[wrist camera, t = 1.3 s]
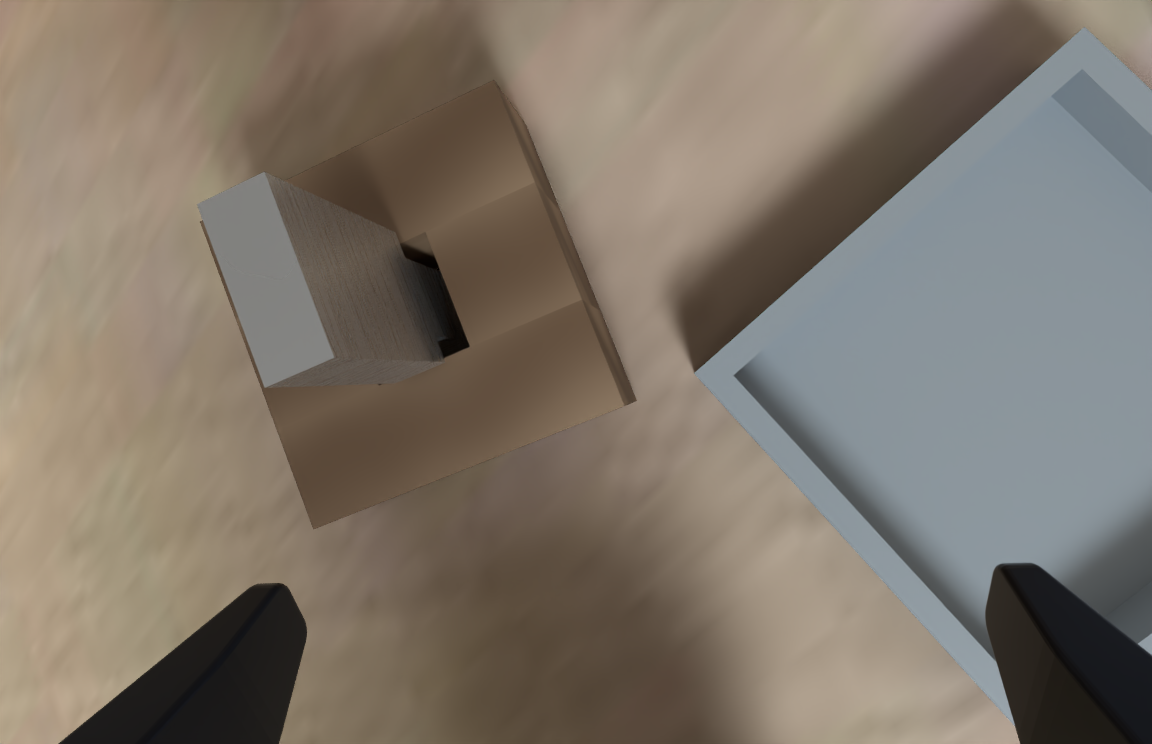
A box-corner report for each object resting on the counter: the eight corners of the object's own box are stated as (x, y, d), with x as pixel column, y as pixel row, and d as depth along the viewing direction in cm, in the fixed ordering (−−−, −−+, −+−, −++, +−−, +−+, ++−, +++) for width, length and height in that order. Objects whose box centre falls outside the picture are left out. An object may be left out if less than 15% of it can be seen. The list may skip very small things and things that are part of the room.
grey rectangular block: (489, 364, 26) (334, 357, 15) (447, 381, 26) (264, 388, 15) (447, 256, 26) (264, 171, 15) (406, 274, 26) (197, 204, 15)
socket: (636, 400, 25) (624, 405, 21) (371, 505, 26) (313, 529, 22) (526, 125, 25) (494, 79, 21) (273, 243, 27) (199, 221, 23)
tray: (1004, 714, 23) (1041, 755, 20) (694, 373, 24) (694, 373, 22) (1403, 410, 21) (1495, 416, 19) (1042, 64, 23) (1084, 26, 20)
